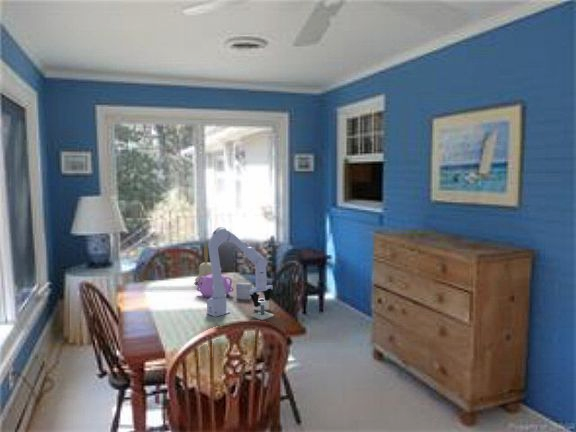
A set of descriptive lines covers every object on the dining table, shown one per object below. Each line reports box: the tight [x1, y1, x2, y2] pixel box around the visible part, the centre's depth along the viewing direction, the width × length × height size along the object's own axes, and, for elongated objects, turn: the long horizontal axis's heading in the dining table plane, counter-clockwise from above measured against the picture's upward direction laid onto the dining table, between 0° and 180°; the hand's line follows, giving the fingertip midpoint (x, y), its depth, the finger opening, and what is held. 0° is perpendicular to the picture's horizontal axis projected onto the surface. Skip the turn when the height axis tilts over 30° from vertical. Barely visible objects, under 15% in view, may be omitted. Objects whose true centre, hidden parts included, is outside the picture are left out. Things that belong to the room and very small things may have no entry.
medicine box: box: [235, 282, 253, 301], centre depth 265 cm, size 8×4×9 cm, turn 74°
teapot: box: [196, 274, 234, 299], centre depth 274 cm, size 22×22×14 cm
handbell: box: [194, 244, 212, 284], centre depth 304 cm, size 15×15×25 cm
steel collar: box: [253, 297, 270, 312], centre depth 244 cm, size 6×6×5 cm
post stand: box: [250, 305, 275, 321], centre depth 233 cm, size 8×8×6 cm
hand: (261, 305), depth 244 cm, fingers open, 7 cm apart
